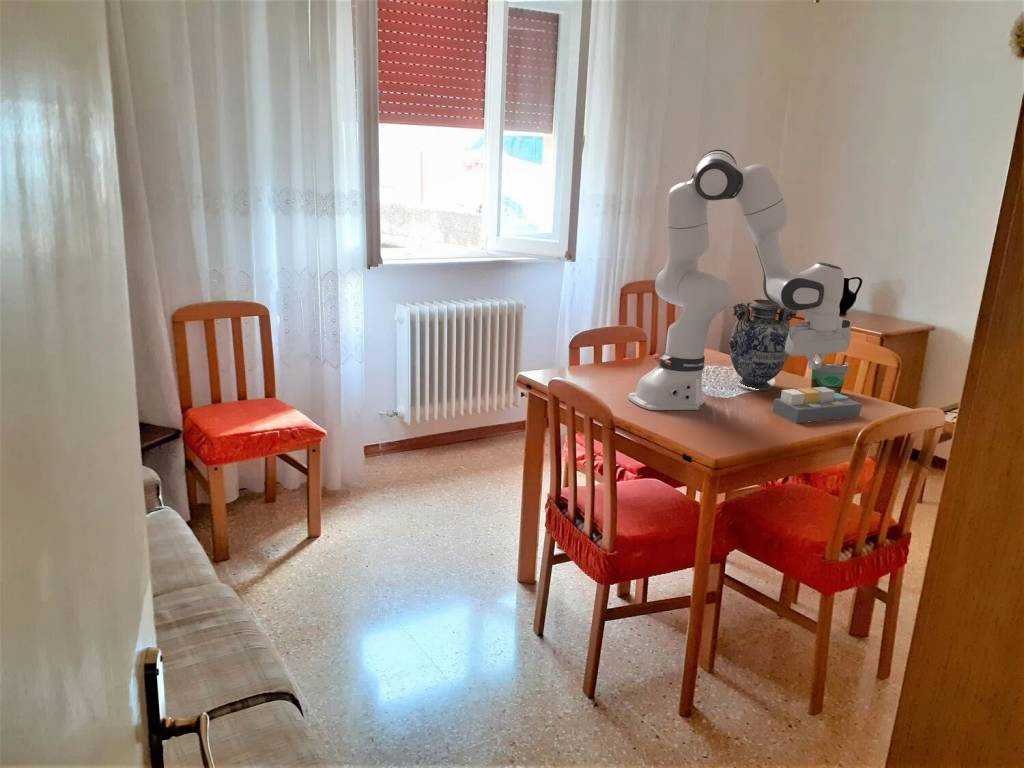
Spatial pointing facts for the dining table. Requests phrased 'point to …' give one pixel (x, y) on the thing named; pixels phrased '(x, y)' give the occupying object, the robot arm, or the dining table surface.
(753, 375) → the decorative vase
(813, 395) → the ochre key
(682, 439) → the dining table surface
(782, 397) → the cream key
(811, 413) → the keypad
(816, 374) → the food container
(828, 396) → the grey key
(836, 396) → the teal key
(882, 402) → the dining table surface
